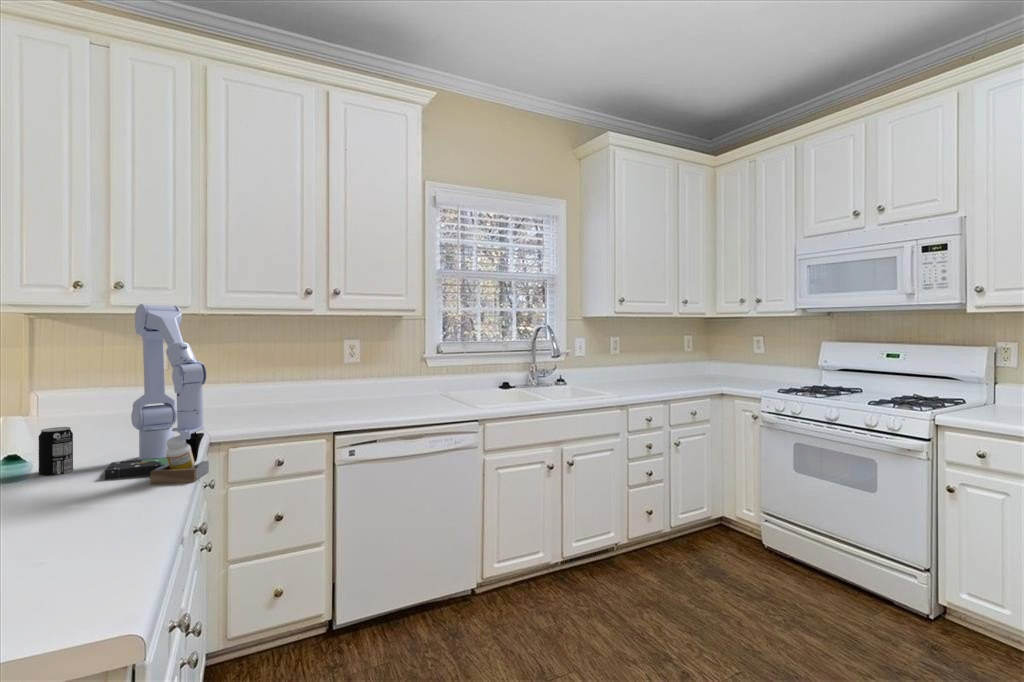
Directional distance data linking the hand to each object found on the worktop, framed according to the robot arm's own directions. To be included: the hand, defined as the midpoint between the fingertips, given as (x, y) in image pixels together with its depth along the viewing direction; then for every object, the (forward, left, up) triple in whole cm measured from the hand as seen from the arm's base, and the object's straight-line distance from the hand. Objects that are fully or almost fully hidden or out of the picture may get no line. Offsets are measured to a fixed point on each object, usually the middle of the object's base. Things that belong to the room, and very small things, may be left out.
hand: (191, 462), depth 137 cm
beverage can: (-4, -33, -3) cm, 33 cm away
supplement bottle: (+2, -1, -2) cm, 3 cm away
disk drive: (0, -19, -2) cm, 20 cm away
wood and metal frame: (+4, -1, -3) cm, 5 cm away
